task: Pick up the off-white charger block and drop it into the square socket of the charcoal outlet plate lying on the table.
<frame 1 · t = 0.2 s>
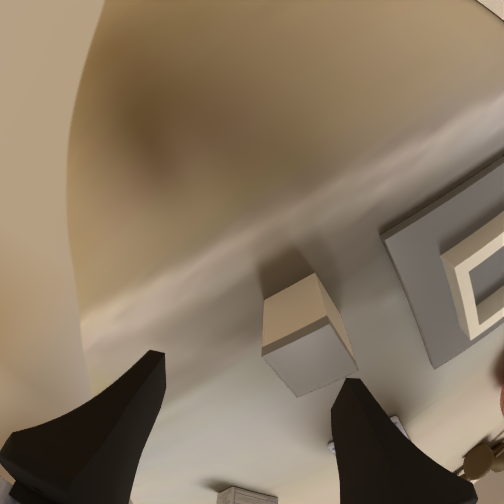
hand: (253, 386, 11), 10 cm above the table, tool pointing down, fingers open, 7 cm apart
outlet plate: (480, 264, 19), on the table
medicine box: (248, 494, 34), on the table
kendama: (469, 459, 33), on the table
charger block: (303, 307, 22), on the table
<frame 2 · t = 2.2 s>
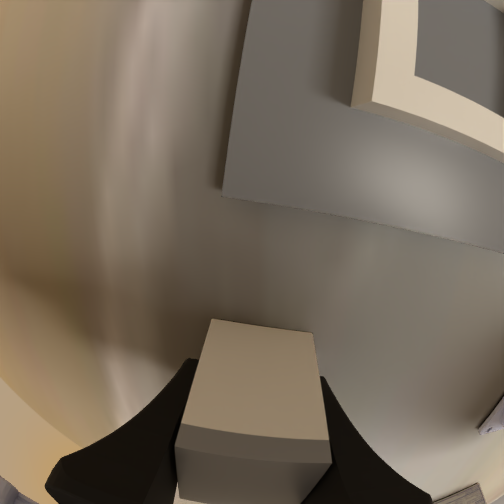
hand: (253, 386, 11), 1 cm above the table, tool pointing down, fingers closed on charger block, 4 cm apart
outlet plate: (448, 48, 7), on the table
medicine box: (445, 499, 21), on the table
charger block: (254, 363, 13), on the table, touching gripper
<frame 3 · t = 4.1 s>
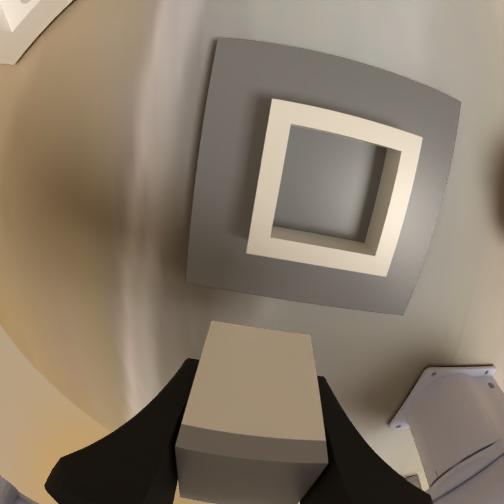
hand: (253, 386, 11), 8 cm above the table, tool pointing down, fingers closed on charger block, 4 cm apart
outlet plate: (326, 183, 17), on the table
medicine box: (389, 486, 30), on the table
charger block: (254, 364, 13), point 7 cm above the table, touching gripper
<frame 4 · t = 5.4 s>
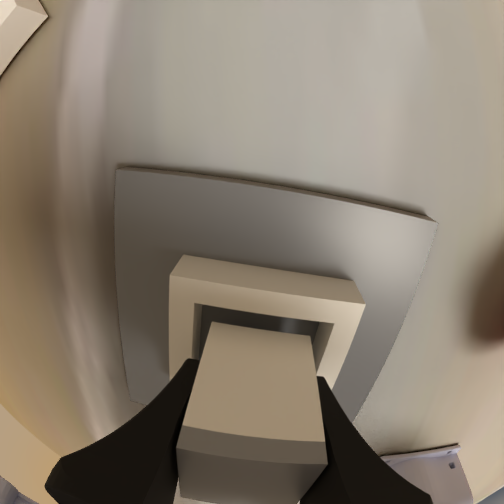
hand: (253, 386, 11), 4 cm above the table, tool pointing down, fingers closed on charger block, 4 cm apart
outlet plate: (257, 326, 15), on the table
charger block: (254, 365, 13), point 3 cm above the table, touching gripper
when the fingers open (4 cm above the table, at t = 6.2 s): charger block drops 2 cm, resting on outlet plate.
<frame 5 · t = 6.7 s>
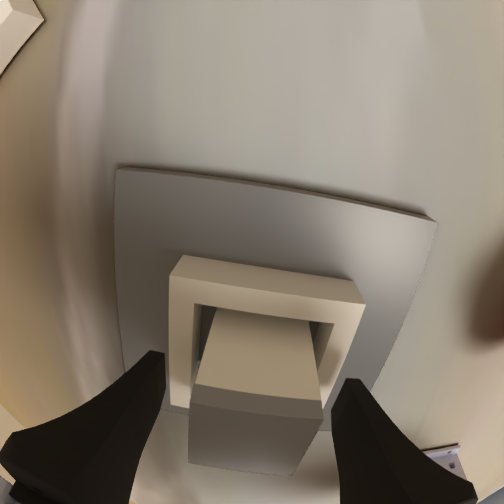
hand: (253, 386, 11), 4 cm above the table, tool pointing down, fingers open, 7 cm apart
outlet plate: (257, 326, 15), on the table
charger block: (256, 342, 14), point 1 cm above the table, touching outlet plate
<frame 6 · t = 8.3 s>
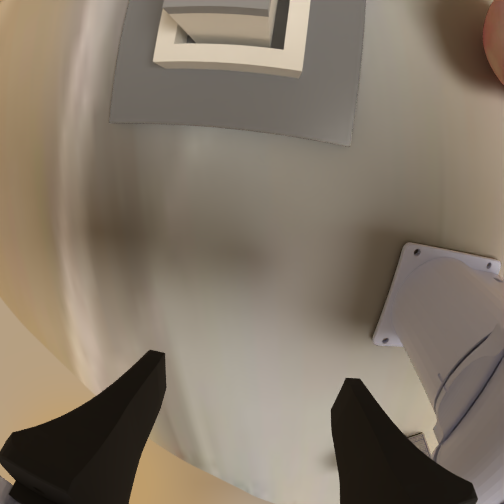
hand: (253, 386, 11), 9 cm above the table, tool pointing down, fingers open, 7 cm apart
outlet plate: (240, 19, 14), on the table
decorative fruit: (497, 58, 13), on the table
charger block: (238, 16, 13), point 1 cm above the table, touching outlet plate
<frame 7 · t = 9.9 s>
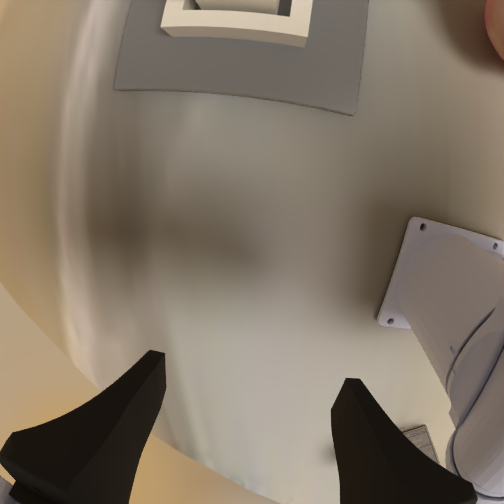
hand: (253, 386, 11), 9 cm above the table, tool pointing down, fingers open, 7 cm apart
medicine box: (391, 442, 27), on the table
decorative fruit: (499, 41, 12), on the table
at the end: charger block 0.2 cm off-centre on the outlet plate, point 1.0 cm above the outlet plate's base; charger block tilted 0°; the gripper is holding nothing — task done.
